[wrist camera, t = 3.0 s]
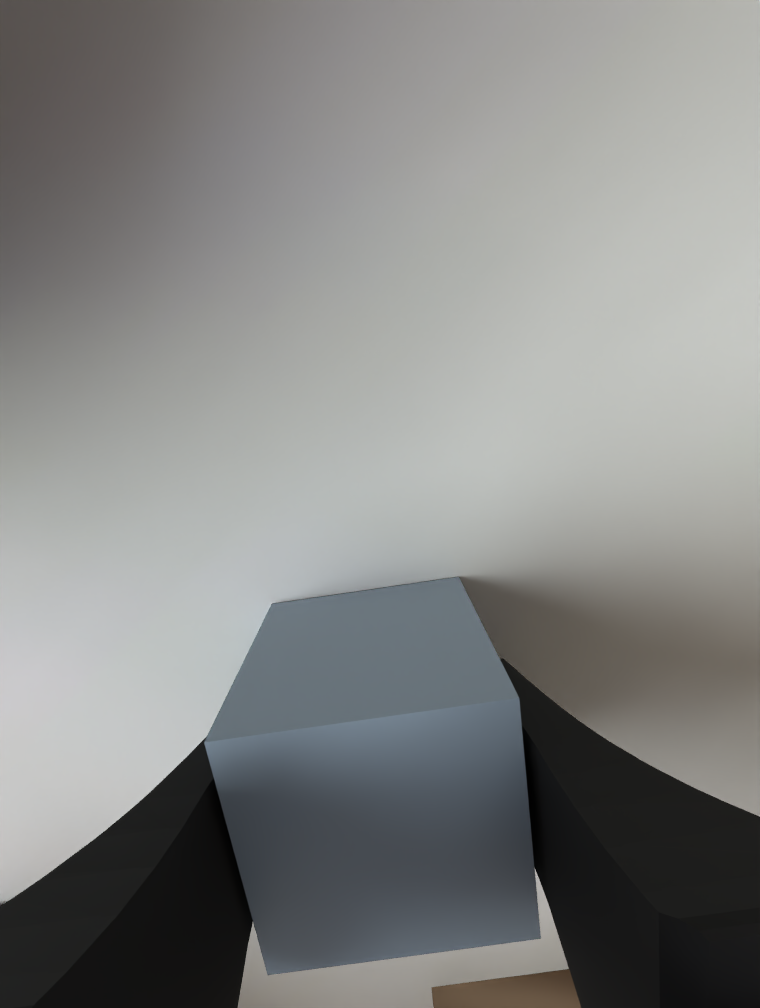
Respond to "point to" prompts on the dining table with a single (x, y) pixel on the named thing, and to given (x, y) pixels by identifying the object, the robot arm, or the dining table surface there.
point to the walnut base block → (511, 992)
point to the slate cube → (376, 780)
